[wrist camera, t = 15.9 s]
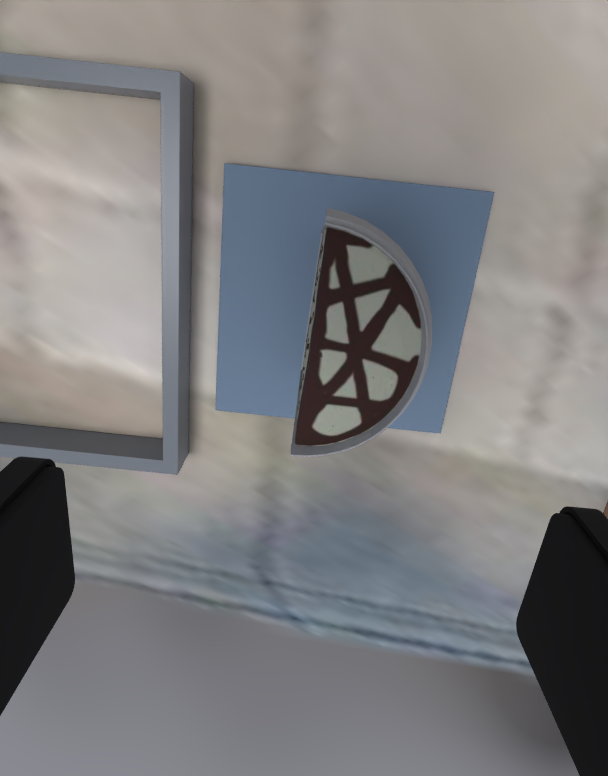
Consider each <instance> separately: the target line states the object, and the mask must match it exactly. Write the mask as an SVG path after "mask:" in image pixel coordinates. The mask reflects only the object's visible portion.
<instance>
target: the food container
mask: <svg viewBox="0 0 608 776" xmlns="http://www.w3.org/2000/svg"><path fill="white" fill-rule="evenodd" d="M431 346H432V315H431V310H430V304H429V298H428V295H427V292H426V290H425V287H424V284H423V281H422V279H421V277H420V275H419V273H418V272H417V270H416V268H415V266H414V264H413V263H412V261H411V260H410V259H409V257H408V256H407V255H406V254H405V252H404V251H403V250H402V249H401V247H400V246H399V245H398V244H397V243H396V242H394V241H393V240H392V239H391V238H390V237H389V236H388V235H387V234H386V233H384V232H383V231H382V230H380V229H378V228H377V227H375V226H374V225H372V224H370V223H369V222H367V221H366V220H363V219H361V218H358V217H356V216H354V215H351V214H349V213H347V212H343V211H339V210H334V209H330V208H327V212H326V222H325V224H324V226H323V228H322V231H321V238H320V244H319V251H318V258H317V265H316V271H315V278H314V285H313V291H312V298H311V305H310V312H309V318H308V325H307V332H306V338H305V345H304V352H303V359H302V365H301V372H300V381H299V389H298V397H297V405H296V414H295V422H294V430H293V438H292V444H291V455H290V456H298V457H315V456H326V455H331V454H336V453H340V452H344V451H346V450H349V449H352V448H355V447H357V446H360V445H361V444H363V443H365V442H367V441H369V440H371V439H373V438H374V437H376V436H377V435H378V434H380V433H381V432H382V431H384V430H385V429H386V428H388V427H389V426H390V425H391V424H392V423H393V422H394V421H395V420H396V419H397V418H398V417H399V416H400V415H401V414H402V413H403V412H404V411H405V409H406V408H407V407H408V405H409V404H410V403H411V401H412V400H413V399H414V397H415V395H416V393H417V391H418V389H419V387H420V385H421V384H422V382H423V379H424V376H425V373H426V370H427V367H428V364H429V358H430V352H431Z"/></svg>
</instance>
